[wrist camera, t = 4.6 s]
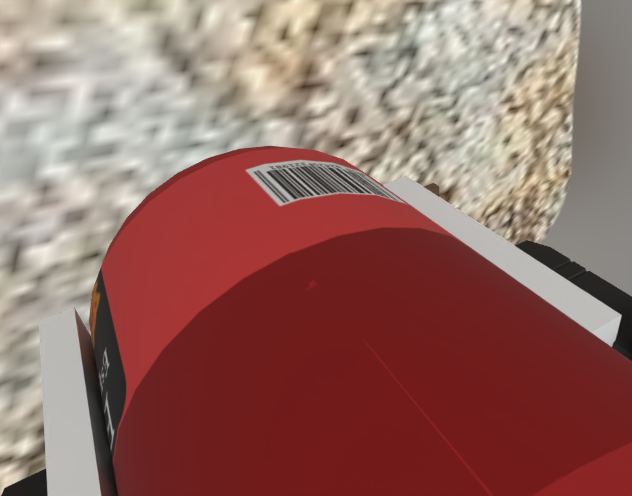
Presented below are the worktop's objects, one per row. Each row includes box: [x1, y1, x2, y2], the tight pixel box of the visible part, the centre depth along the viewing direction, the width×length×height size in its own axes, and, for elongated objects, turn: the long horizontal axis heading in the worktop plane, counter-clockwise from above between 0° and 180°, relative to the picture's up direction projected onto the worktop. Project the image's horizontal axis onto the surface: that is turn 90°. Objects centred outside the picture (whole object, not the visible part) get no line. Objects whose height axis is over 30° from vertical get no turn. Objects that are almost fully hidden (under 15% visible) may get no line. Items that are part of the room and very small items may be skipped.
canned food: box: [89, 146, 632, 496], centre depth 9 cm, size 8×8×11 cm
